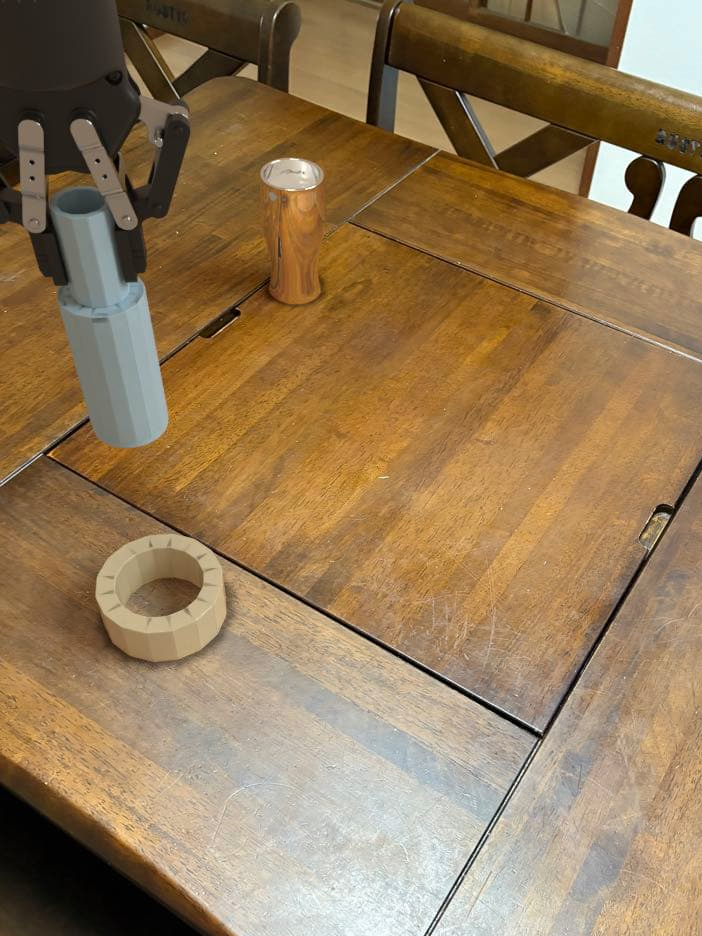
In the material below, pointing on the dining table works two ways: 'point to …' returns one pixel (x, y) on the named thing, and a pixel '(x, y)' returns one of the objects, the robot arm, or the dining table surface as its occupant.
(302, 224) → the beer glass
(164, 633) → the ring
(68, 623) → the dining table surface
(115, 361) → the bottle
